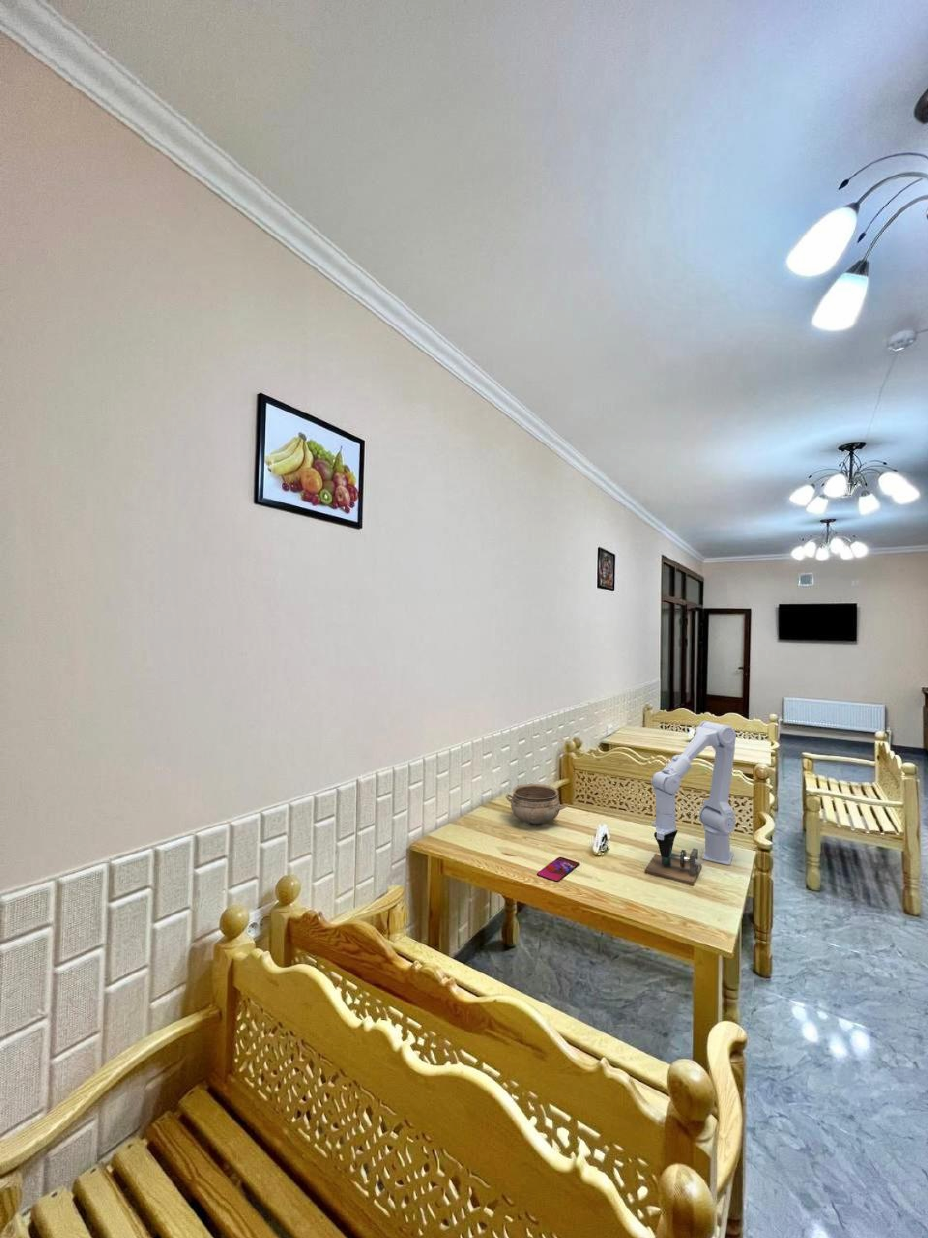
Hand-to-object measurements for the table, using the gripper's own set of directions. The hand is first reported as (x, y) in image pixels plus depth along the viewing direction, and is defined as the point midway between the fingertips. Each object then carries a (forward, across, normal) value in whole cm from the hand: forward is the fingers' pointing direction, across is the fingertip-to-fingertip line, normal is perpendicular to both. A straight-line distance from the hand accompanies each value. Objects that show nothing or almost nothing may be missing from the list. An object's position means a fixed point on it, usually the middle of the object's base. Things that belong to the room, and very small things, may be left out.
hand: (666, 854), depth 159 cm
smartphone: (+5, +19, -28) cm, 34 cm away
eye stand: (+4, 0, +2) cm, 5 cm away
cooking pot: (+5, -11, -51) cm, 52 cm away
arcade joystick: (+3, 0, +4) cm, 5 cm away
